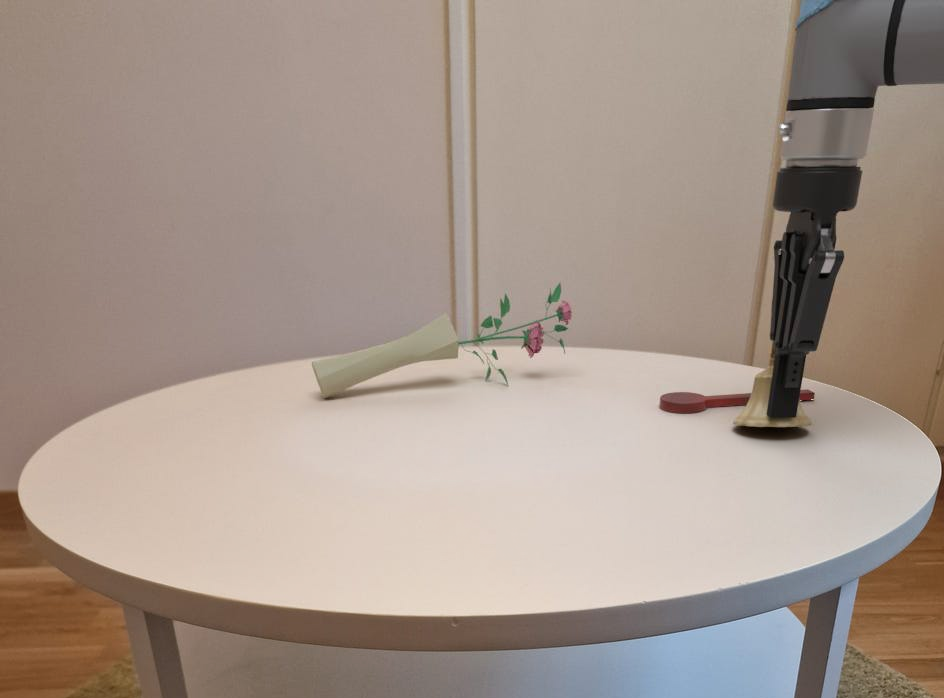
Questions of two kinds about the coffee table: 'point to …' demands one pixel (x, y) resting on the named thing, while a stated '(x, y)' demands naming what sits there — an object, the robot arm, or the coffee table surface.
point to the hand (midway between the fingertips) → (781, 415)
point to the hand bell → (759, 403)
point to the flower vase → (426, 349)
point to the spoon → (709, 401)
